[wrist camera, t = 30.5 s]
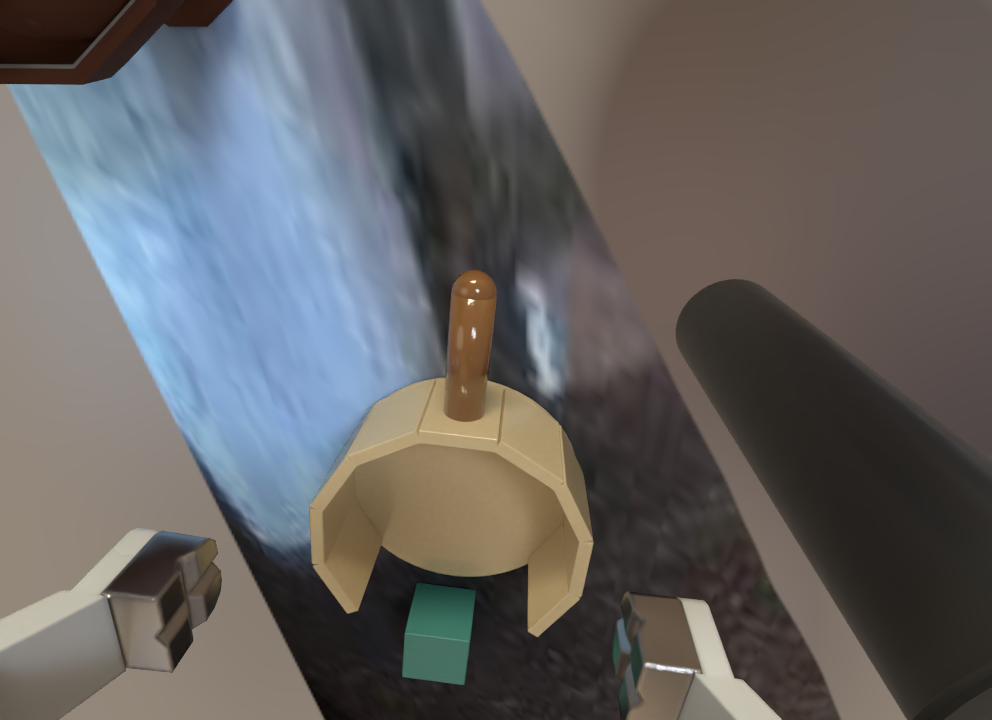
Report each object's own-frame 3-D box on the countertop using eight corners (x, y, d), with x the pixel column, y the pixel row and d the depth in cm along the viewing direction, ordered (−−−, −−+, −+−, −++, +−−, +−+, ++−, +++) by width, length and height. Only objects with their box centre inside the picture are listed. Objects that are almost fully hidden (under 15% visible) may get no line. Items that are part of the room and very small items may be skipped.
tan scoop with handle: (623, 267, 27) (647, 304, 22) (560, 582, 36) (566, 666, 30) (343, 235, 27) (296, 264, 22) (347, 556, 36) (314, 635, 30)
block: (470, 642, 33) (464, 685, 35) (476, 589, 37) (470, 631, 38) (404, 633, 33) (401, 677, 35) (417, 581, 37) (414, 624, 38)
